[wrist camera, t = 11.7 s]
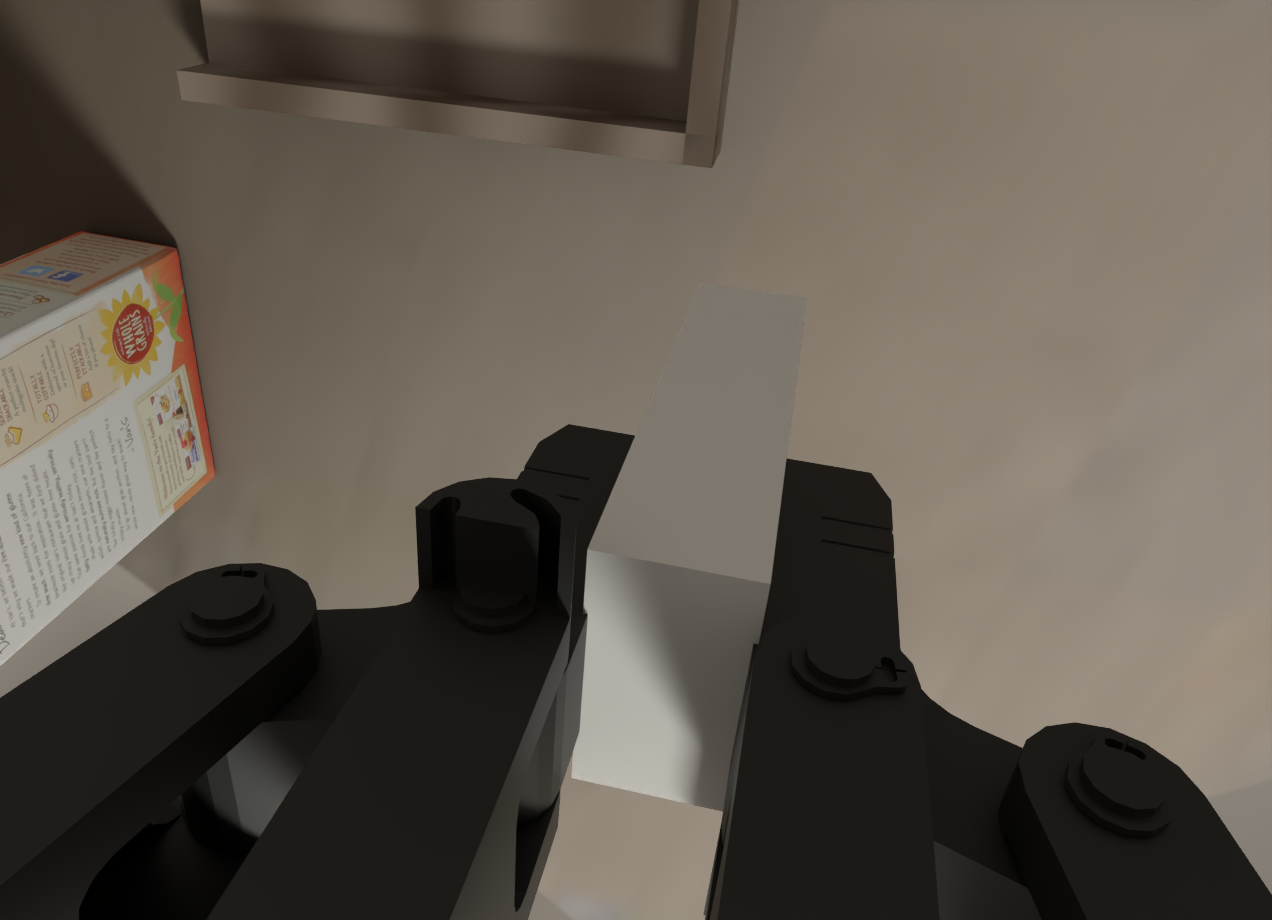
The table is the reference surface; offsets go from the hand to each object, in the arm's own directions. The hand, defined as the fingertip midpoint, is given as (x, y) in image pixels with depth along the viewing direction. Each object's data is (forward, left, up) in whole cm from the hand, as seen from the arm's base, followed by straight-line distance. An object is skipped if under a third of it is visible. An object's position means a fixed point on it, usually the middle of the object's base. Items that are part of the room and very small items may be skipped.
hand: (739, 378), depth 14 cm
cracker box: (+33, +18, -29) cm, 48 cm away
